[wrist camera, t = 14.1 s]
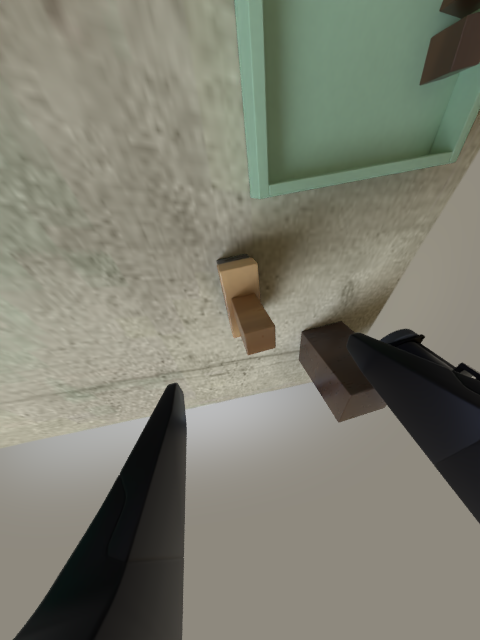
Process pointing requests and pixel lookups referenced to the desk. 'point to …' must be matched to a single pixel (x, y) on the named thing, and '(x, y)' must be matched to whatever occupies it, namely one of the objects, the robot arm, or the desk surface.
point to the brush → (245, 303)
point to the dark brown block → (337, 372)
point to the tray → (346, 92)
